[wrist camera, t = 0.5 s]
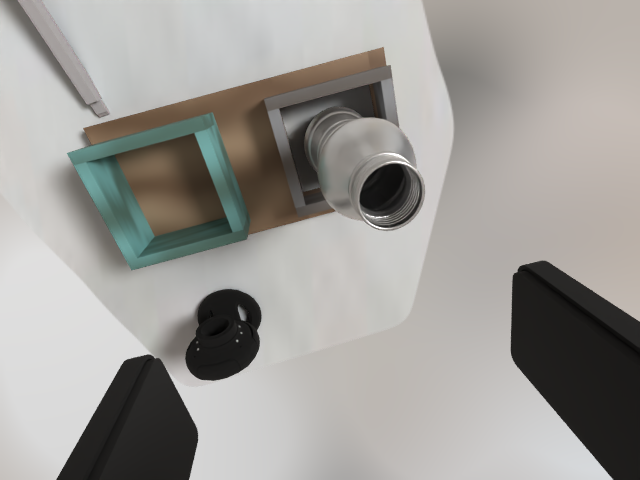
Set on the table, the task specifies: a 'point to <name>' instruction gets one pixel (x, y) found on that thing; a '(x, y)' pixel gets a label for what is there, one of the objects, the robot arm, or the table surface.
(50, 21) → the caliper
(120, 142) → the sorting tray
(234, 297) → the webcam
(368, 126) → the metal bottle
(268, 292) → the table surface
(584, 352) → the robot arm
